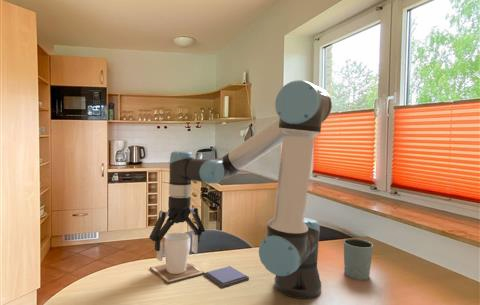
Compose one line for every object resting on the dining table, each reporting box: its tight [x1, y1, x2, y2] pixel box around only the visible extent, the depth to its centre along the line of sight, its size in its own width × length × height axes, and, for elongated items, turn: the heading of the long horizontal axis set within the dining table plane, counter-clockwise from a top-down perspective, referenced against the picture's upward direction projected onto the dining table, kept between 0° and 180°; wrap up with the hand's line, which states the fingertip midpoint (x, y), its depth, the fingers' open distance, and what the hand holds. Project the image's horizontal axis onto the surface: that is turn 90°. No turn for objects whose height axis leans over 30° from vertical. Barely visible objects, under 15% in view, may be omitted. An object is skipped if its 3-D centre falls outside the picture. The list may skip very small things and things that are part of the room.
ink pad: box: [203, 265, 250, 289], centre depth 114 cm, size 11×11×1 cm
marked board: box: [149, 261, 205, 285], centre depth 116 cm, size 14×14×1 cm
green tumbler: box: [343, 238, 374, 281], centre depth 121 cm, size 10×10×12 cm
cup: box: [163, 232, 192, 274], centre depth 116 cm, size 9×9×12 cm
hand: (177, 255), depth 116 cm, fingers open, 13 cm apart
